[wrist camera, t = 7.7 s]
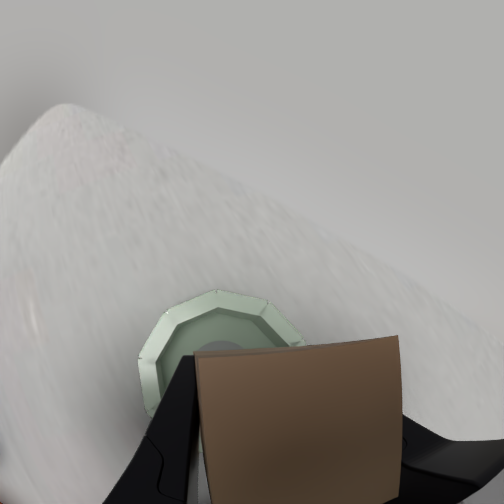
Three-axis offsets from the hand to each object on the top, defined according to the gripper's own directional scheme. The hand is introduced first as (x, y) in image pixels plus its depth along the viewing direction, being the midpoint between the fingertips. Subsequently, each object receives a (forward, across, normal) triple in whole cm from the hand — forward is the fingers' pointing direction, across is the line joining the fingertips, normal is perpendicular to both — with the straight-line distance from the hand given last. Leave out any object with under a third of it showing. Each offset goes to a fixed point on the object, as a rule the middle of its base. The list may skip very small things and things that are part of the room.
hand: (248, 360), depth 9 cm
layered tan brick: (+4, 0, +6) cm, 7 cm away
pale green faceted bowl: (+7, 0, +8) cm, 11 cm away
